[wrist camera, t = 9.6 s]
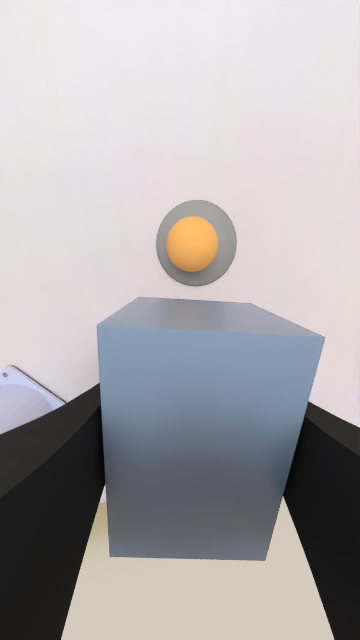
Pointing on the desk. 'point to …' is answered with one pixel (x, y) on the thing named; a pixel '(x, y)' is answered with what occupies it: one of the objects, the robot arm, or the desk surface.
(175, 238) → the ball
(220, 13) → the desk surface
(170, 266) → the rest mark
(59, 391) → the desk surface
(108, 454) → the blue-grey rectangular block
